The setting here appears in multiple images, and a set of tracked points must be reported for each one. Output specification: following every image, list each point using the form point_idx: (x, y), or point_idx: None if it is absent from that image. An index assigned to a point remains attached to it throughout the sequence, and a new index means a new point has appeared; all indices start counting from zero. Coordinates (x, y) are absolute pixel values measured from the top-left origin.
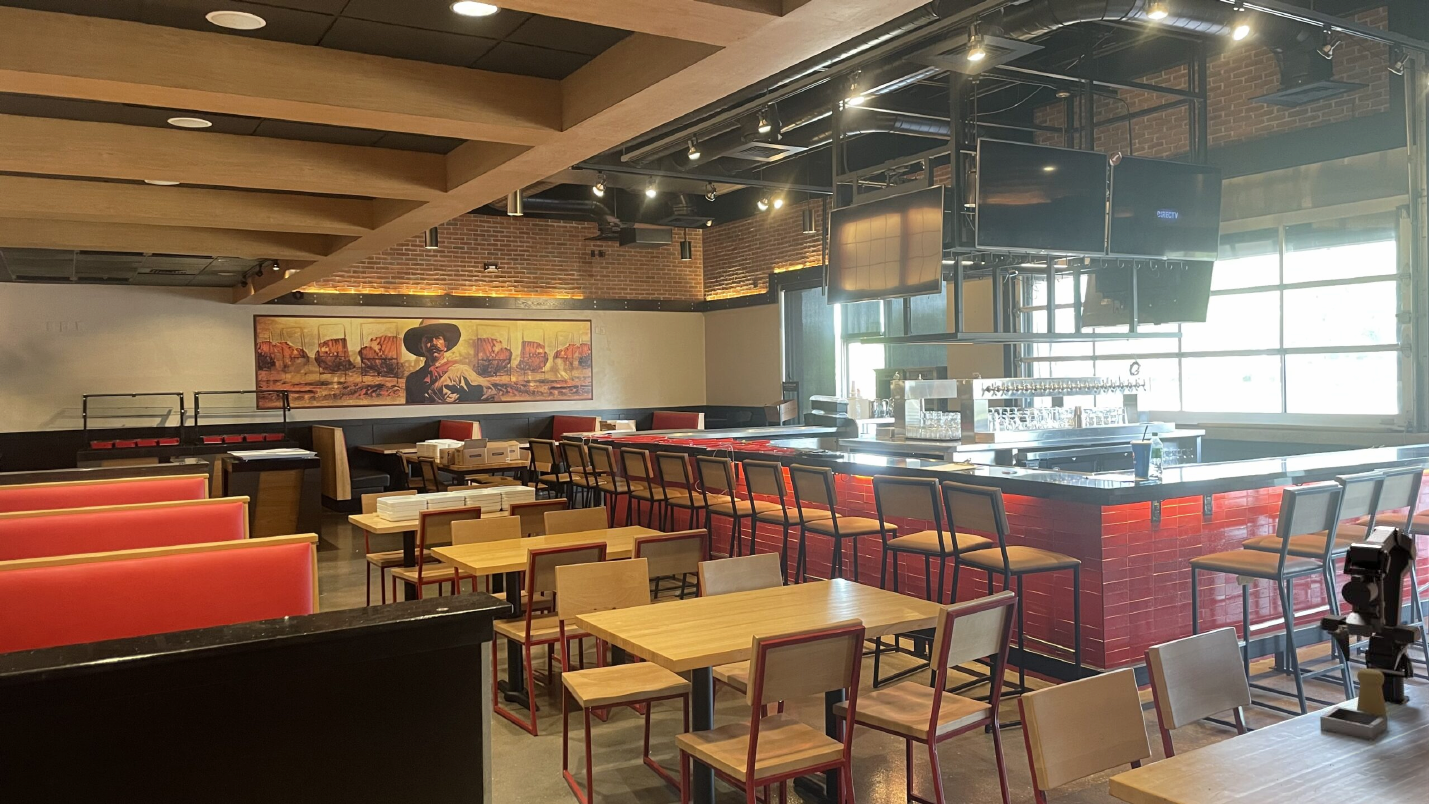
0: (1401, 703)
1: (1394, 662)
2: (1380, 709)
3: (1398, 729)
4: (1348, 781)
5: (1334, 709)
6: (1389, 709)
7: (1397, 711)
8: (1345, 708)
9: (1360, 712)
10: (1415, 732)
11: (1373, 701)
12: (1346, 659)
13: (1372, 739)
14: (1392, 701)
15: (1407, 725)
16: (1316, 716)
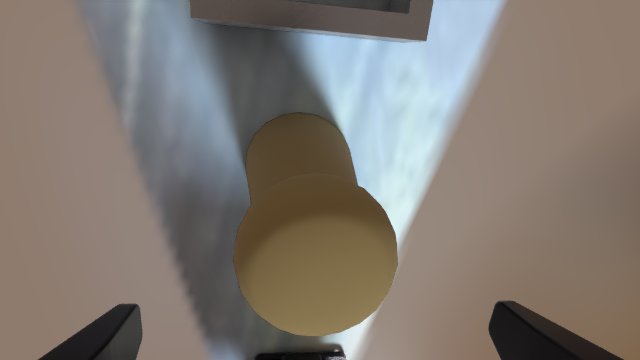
0: (255, 358)
1: (62, 353)
2: (258, 151)
3: (173, 65)
4: None
5: None
6: None
7: None
8: (383, 30)
9: (311, 4)
10: (108, 68)
11: (283, 148)
12: (519, 309)
13: None
14: (281, 357)
15: (166, 146)
16: (474, 27)
